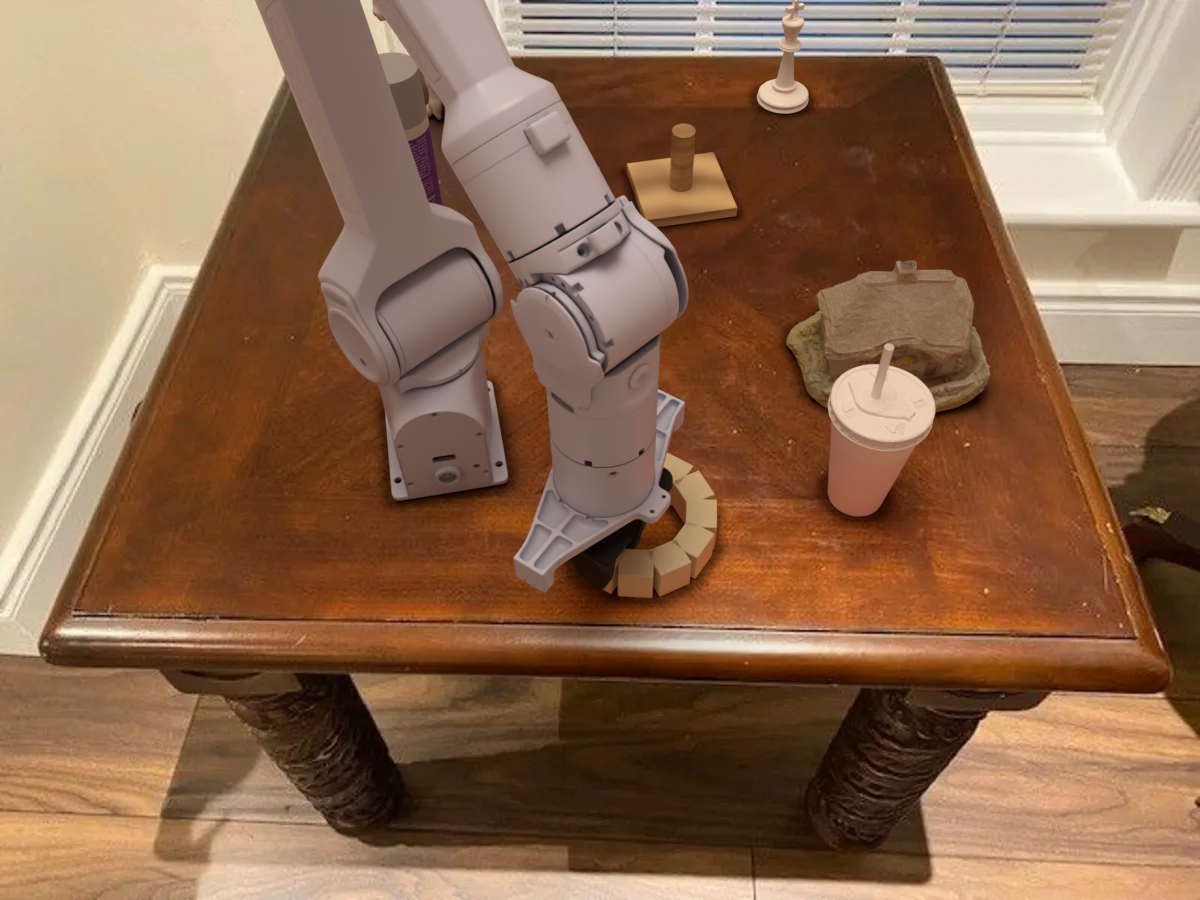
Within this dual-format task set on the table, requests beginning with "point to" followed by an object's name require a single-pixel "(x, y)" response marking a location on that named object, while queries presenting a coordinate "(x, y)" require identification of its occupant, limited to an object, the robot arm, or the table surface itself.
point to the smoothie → (874, 432)
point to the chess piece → (786, 70)
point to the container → (413, 117)
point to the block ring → (684, 552)
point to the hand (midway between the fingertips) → (606, 562)
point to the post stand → (681, 184)
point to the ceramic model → (895, 333)
